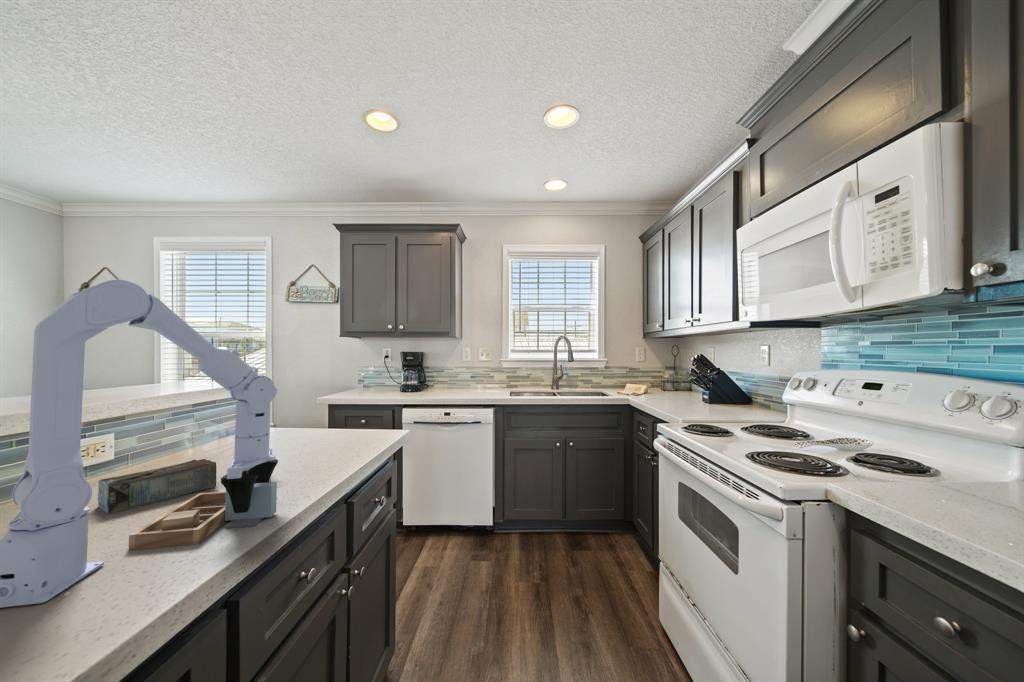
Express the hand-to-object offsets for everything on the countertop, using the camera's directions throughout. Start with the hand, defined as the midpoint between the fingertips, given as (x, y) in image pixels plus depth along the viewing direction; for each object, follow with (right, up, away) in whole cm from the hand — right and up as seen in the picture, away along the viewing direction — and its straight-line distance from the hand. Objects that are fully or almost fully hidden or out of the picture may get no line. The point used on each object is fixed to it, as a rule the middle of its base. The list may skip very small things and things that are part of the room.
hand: (250, 504), depth 75 cm
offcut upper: (-7, -1, -8) cm, 10 cm away
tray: (-9, -3, -2) cm, 9 cm away
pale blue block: (0, -2, 0) cm, 2 cm away
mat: (0, -3, 0) cm, 3 cm away
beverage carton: (-29, -4, +12) cm, 31 cm away
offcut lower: (-7, -3, -8) cm, 11 cm away
